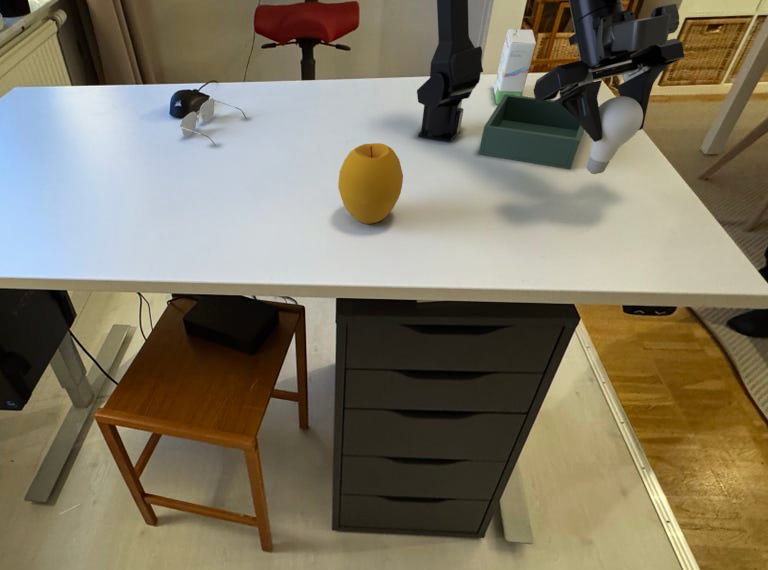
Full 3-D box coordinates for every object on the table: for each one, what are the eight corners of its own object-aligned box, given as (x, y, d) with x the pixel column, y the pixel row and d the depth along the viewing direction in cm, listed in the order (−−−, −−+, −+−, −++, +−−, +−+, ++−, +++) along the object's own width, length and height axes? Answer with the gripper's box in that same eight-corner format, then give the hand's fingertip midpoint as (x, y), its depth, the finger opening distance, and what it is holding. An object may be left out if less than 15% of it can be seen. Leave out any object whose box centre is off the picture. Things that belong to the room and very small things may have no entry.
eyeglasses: (215, 114, 118) (214, 95, 115) (248, 121, 116) (247, 102, 113) (180, 140, 110) (178, 121, 107) (215, 149, 107) (213, 129, 104)
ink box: (493, 89, 119) (505, 28, 110) (518, 89, 118) (532, 28, 109) (495, 104, 113) (508, 41, 104) (521, 105, 112) (537, 41, 103)
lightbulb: (617, 165, 80) (652, 91, 72) (614, 188, 77) (650, 113, 68) (573, 158, 82) (602, 85, 74) (569, 180, 79) (598, 106, 70)
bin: (478, 154, 98) (484, 126, 95) (499, 120, 108) (504, 94, 104) (570, 169, 93) (579, 140, 89) (583, 132, 102) (592, 104, 98)
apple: (373, 194, 91) (377, 124, 82) (413, 219, 85) (422, 146, 76) (326, 214, 87) (325, 143, 79) (364, 241, 81) (368, 167, 73)
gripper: (578, -6, 62) (603, 131, 64) (714, -35, 65) (733, 98, 67) (521, 41, 73) (543, 157, 75) (639, 15, 76) (657, 127, 78)
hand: (618, 135), depth 74 cm, fingers closed on lightbulb, 6 cm apart
